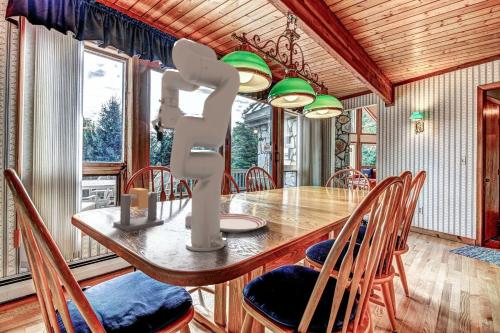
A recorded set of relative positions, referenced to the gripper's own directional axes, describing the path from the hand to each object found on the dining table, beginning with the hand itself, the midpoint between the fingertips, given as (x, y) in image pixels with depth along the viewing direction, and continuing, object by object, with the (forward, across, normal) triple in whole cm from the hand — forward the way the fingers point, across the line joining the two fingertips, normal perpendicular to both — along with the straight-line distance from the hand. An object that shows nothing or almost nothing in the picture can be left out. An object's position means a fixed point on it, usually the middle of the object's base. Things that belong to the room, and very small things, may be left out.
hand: (169, 142), depth 113 cm
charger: (+37, +9, -9) cm, 39 cm away
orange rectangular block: (+29, -11, +5) cm, 31 cm away
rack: (+36, -11, +5) cm, 38 cm away
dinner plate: (+37, +15, -27) cm, 48 cm away
